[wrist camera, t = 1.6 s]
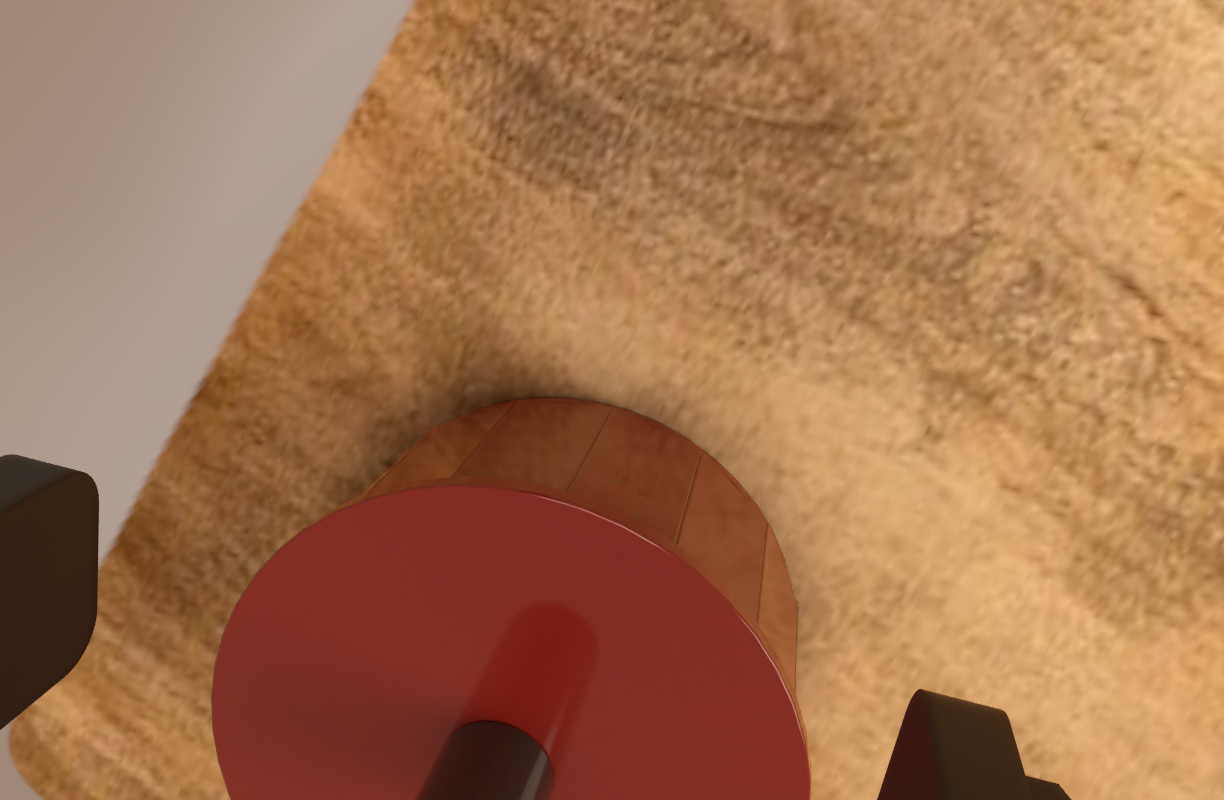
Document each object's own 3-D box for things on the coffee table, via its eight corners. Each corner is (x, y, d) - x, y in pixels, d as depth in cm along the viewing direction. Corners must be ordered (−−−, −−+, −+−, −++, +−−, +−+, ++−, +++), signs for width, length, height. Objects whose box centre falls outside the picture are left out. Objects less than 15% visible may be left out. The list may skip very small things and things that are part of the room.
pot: (269, 577, 36) (137, 705, 29) (570, 299, 31) (499, 373, 24) (563, 867, 38) (506, 1055, 31) (894, 648, 33) (915, 813, 26)
